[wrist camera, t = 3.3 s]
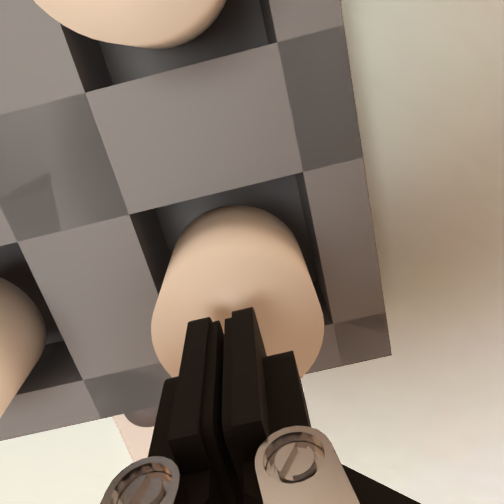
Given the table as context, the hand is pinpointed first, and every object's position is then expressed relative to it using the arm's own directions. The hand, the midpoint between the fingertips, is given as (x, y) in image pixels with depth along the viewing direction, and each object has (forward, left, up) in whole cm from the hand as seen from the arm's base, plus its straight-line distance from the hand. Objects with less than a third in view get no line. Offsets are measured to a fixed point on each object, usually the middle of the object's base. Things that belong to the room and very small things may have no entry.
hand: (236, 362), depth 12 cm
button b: (0, 0, -6) cm, 6 cm away
